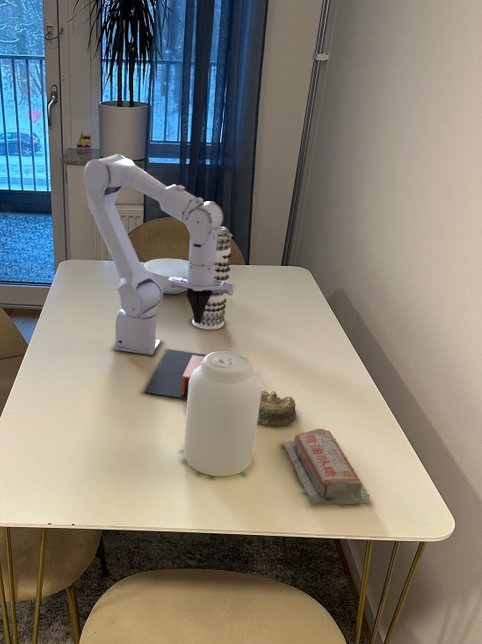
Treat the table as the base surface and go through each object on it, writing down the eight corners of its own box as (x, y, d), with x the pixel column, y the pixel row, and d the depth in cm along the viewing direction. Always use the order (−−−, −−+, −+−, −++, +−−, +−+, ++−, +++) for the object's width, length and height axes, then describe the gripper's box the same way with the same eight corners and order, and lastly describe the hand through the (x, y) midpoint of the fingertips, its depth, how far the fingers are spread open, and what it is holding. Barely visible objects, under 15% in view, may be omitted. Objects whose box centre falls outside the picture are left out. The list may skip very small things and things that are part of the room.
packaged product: (376, 481, 106) (316, 483, 105) (369, 505, 108) (311, 507, 107) (338, 423, 121) (286, 424, 120) (333, 444, 123) (282, 446, 122)
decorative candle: (216, 314, 176) (225, 222, 163) (230, 328, 169) (241, 232, 156) (185, 317, 174) (192, 224, 161) (198, 331, 166) (206, 234, 153)
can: (202, 485, 111) (212, 382, 101) (171, 446, 121) (177, 349, 110) (264, 469, 116) (280, 370, 105) (229, 433, 125) (240, 339, 115)
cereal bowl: (200, 301, 185) (202, 277, 181) (142, 299, 185) (143, 275, 181) (197, 280, 199) (199, 258, 195) (143, 278, 199) (144, 256, 195)
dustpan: (182, 375, 135) (225, 382, 133) (198, 343, 149) (237, 348, 147) (181, 394, 137) (223, 401, 135) (196, 360, 151) (235, 366, 149)
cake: (293, 432, 127) (296, 410, 124) (242, 424, 130) (245, 402, 127) (298, 405, 135) (302, 383, 132) (251, 397, 138) (253, 376, 134)
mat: (144, 393, 138) (144, 391, 138) (168, 350, 156) (168, 349, 156) (227, 406, 134) (228, 405, 134) (242, 361, 152) (242, 360, 152)
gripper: (164, 264, 137) (162, 324, 144) (232, 271, 134) (227, 332, 141) (172, 254, 143) (169, 312, 150) (237, 261, 140) (232, 320, 147)
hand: (198, 321), depth 146 cm, fingers closed
